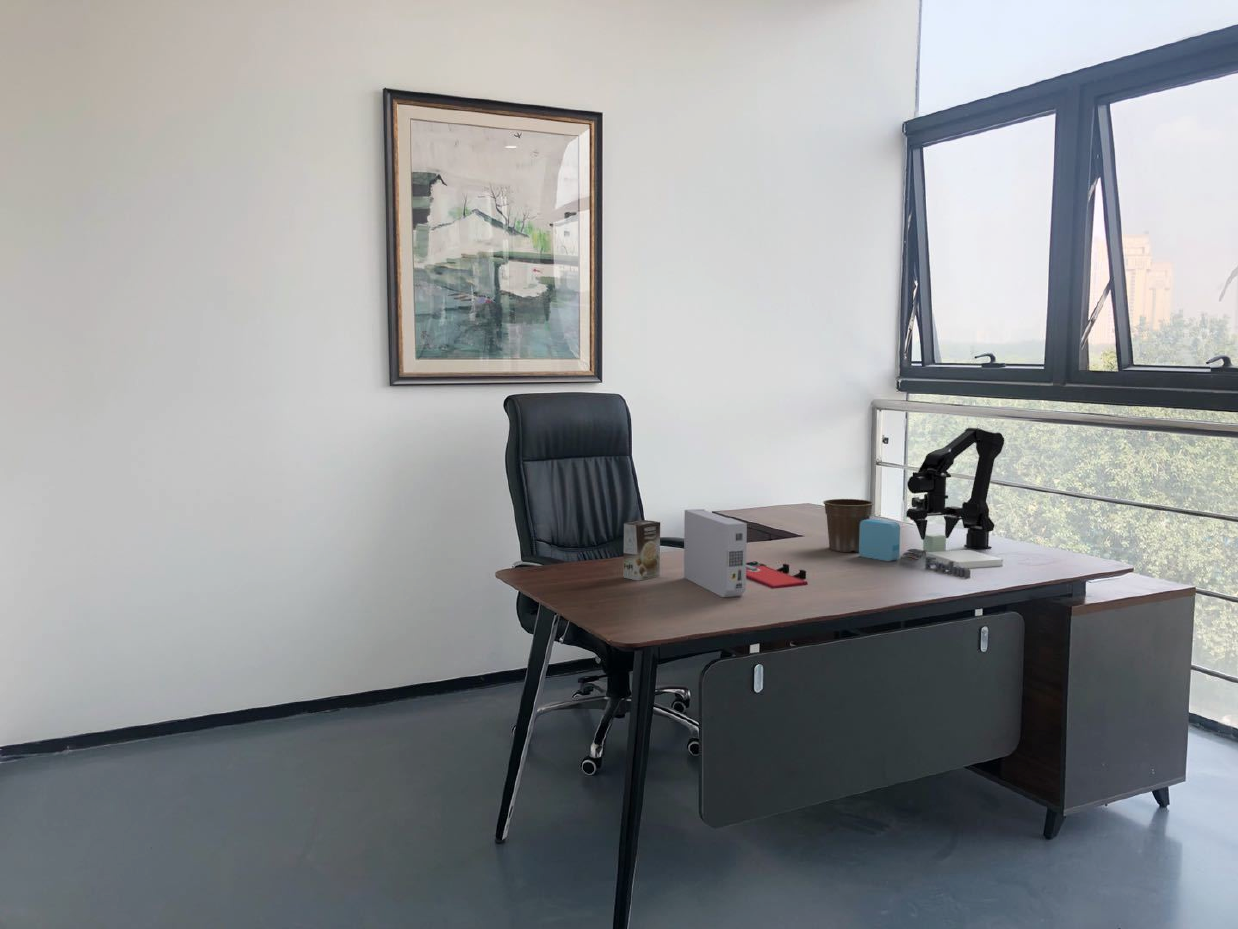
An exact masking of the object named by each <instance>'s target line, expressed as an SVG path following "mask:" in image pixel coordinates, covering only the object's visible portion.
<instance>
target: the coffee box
mask: <svg viewBox="0 0 1238 929" xmlns="http://www.w3.org/2000/svg"><path fill="white" fill-rule="evenodd" d="M660 560H661V521H654V520H647V519H643V520H636V521H629V522H627V521H626V522H624V523H623V565H622V566H623V569H622V570H623V572H622V573H623V578H624V579H629V580H633V581H637V582H638V581H639V582H640V581H643V580H648V579H653V578H657V577H660V576H661V575H660V573H661V572H660V571H661V570H660V569H661V566H660V565H661V561H660Z"/></svg>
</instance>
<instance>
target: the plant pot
mask: <svg viewBox="0 0 1238 929" xmlns="http://www.w3.org/2000/svg"><path fill="white" fill-rule="evenodd" d="M822 503H823V504H824V511H825V512H824V513H825V516H826V524H827V526H826V527H827V536H828V548H829V550H831V551H835V552H839V553H851V552H855V553H859V534H860V522H861V521H863V520H867V519H871V518H870V517H871V515H872V508H873V505H874V501H871V500H869V499H868V500H867V499H858V498H857V499H855V498H834V499H833V498H832V499H826V500H823V502H822Z"/></svg>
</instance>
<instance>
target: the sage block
mask: <svg viewBox="0 0 1238 929" xmlns="http://www.w3.org/2000/svg"><path fill="white" fill-rule="evenodd" d="M946 544H947V538H946V536H945V535H943V534H940V533H928V534H925V539H924V540H923V542H922V550H923V551H924V550H926V552H941V551H947V550H946ZM926 552H925V553H924V554H926Z"/></svg>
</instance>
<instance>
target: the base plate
mask: <svg viewBox="0 0 1238 929" xmlns="http://www.w3.org/2000/svg"><path fill="white" fill-rule="evenodd" d="M925 554H926V555H925V558H926V557H928V556H930V557H935V558H936V560H931V562H939V563H943V564H949V562H950V561H954V567H957V566H960V567H961V568H968V569H974V568H986V567H987V568H988V567H989V568H990V567H1000V566H1001V567H1003V564H1004V561H1003V560H1004V559H1003V558H1000V557H996V556H993V555H990V554H987V553H986V554H985V553H982V552H980V551H979V552H978V551H975V550H971V549H961V550H960V549H957V550H946V551H941V552H926V553H925Z"/></svg>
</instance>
